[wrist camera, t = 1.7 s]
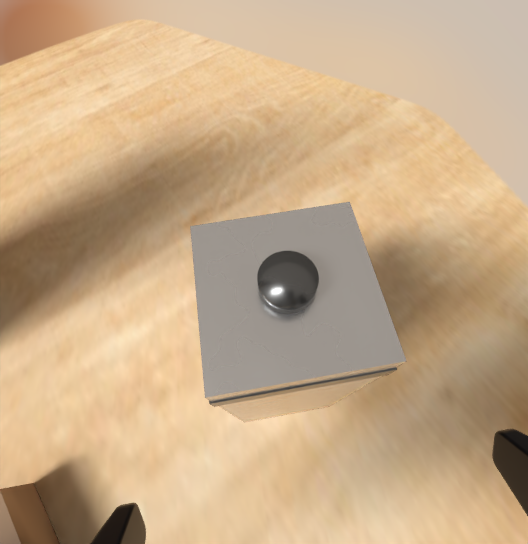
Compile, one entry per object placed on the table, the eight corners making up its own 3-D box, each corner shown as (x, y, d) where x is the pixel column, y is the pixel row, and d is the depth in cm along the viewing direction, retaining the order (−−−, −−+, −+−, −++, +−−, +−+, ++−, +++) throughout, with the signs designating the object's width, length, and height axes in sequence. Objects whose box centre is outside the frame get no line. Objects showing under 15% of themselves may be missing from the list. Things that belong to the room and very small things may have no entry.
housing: (330, 407, 19) (418, 357, 8) (243, 423, 19) (198, 397, 7) (310, 323, 22) (354, 187, 10) (232, 337, 21) (184, 213, 10)
